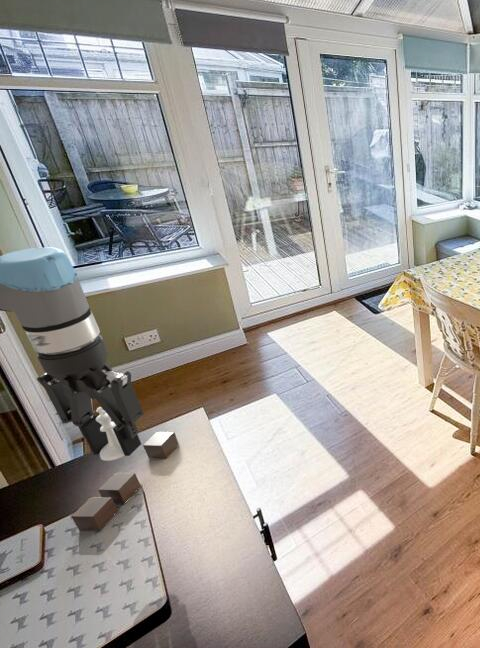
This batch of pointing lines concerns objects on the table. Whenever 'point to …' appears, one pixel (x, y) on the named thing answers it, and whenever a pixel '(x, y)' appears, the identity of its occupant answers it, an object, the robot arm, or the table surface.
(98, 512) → the walnut block
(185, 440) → the table surface
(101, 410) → the chess piece
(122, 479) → the walnut block
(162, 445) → the walnut block
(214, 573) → the table surface
